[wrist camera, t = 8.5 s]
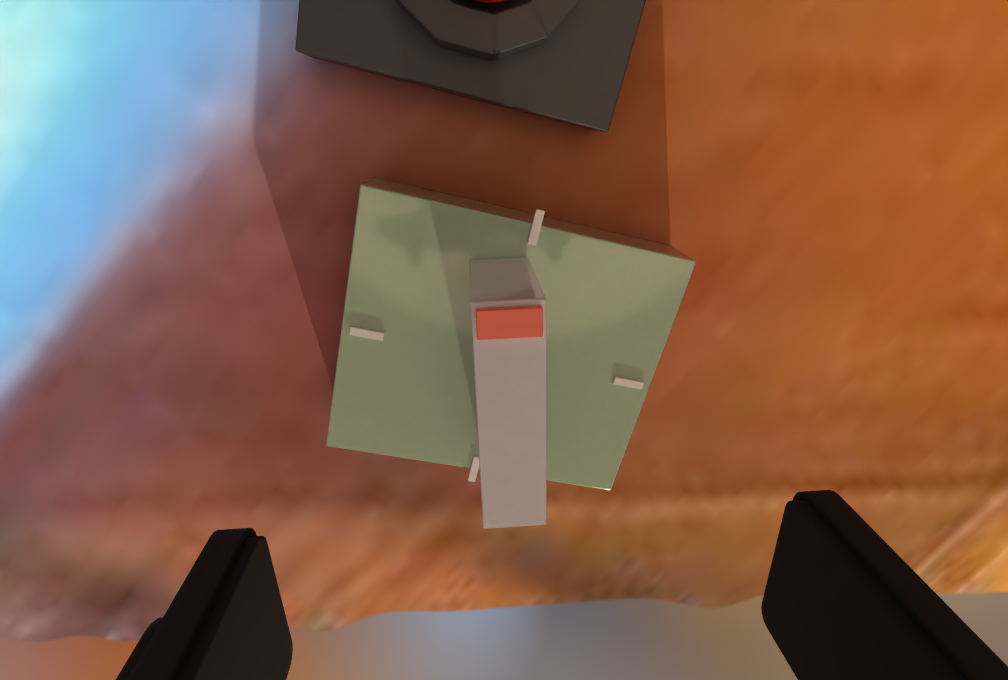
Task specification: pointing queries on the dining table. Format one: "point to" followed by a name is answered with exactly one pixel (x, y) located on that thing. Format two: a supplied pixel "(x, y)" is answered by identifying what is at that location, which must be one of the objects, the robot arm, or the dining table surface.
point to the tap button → (490, 1)
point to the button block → (486, 49)
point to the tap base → (448, 329)
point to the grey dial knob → (510, 390)
